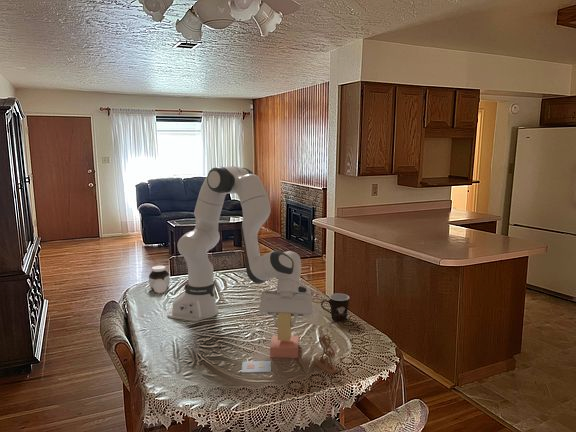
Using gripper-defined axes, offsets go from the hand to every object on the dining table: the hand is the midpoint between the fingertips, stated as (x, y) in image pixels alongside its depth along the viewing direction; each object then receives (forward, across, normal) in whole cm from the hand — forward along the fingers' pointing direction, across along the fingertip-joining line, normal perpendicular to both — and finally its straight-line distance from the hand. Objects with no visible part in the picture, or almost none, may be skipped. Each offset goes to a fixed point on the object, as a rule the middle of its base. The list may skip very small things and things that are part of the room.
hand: (284, 326), depth 159 cm
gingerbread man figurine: (+14, +16, +1) cm, 21 cm away
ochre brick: (+3, 0, +4) cm, 5 cm away
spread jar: (-34, -74, +48) cm, 94 cm away
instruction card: (+16, -8, -2) cm, 18 cm away
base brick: (+7, 0, +8) cm, 10 cm away
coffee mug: (-16, +18, +30) cm, 39 cm away
